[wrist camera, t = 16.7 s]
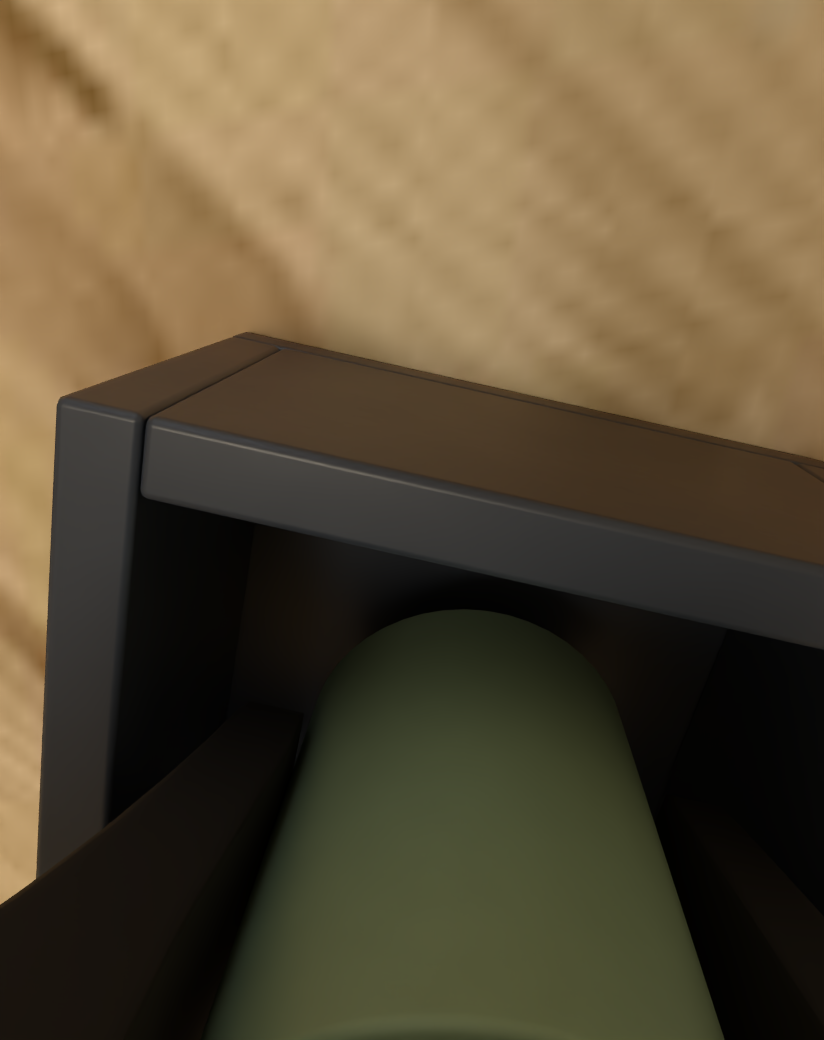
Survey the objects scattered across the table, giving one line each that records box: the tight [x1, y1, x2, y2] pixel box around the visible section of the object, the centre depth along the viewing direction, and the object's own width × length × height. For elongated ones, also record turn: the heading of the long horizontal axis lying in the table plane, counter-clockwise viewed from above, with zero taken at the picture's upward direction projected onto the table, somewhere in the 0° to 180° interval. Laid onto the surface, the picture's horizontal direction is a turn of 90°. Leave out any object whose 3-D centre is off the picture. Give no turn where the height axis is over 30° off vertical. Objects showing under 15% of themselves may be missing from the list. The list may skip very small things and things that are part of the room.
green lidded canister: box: [200, 609, 725, 1040], centre depth 7 cm, size 4×4×6 cm
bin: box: [36, 332, 824, 916], centre depth 10 cm, size 8×8×5 cm
